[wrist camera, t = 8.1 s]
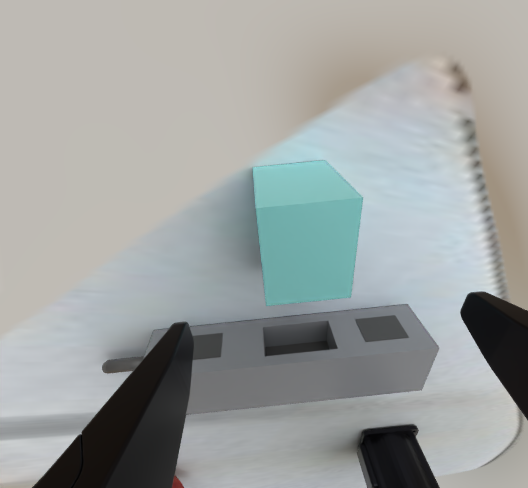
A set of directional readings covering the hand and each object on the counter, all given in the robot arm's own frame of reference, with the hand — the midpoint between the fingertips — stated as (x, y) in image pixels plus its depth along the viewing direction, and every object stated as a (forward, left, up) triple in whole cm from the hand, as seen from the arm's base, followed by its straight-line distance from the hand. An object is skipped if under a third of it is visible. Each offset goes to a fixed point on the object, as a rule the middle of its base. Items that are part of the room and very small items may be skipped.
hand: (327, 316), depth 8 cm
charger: (0, +1, -9) cm, 9 cm away
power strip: (+3, +12, -9) cm, 15 cm away
